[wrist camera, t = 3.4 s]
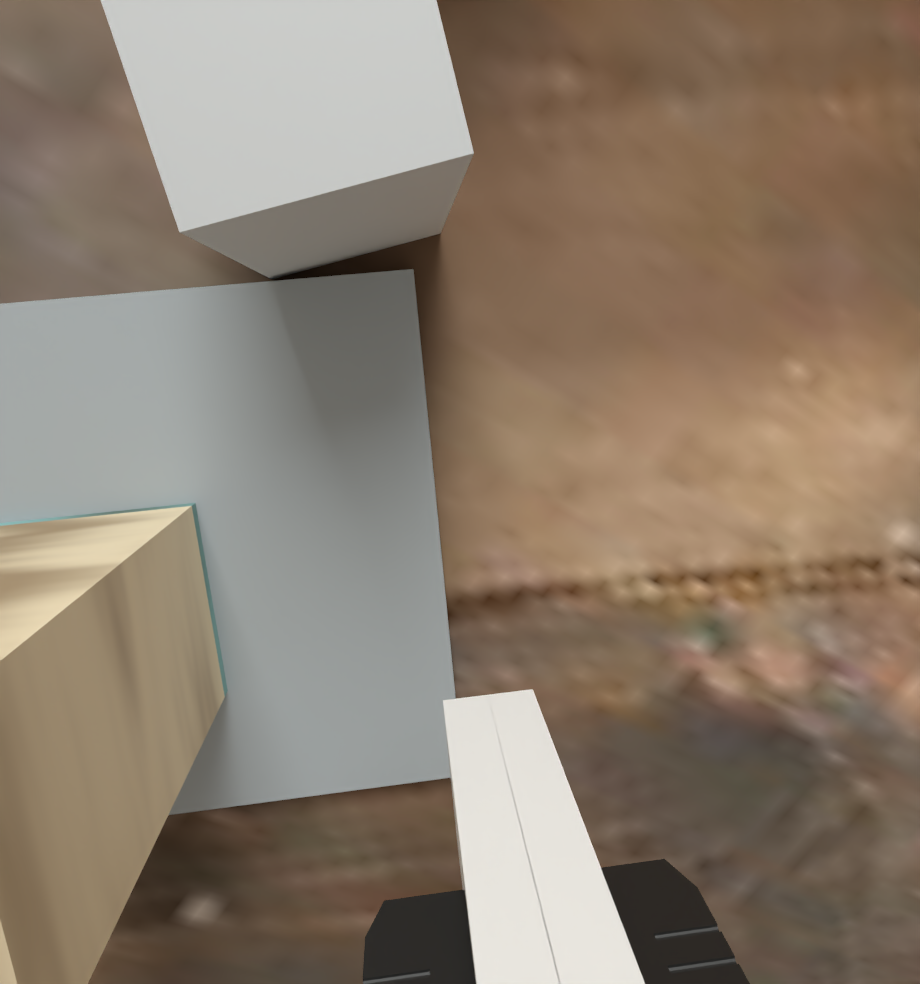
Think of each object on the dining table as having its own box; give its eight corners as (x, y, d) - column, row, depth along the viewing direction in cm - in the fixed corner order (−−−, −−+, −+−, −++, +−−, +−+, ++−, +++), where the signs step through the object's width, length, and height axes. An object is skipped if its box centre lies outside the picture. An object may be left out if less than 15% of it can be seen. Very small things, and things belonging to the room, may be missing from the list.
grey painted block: (271, 279, 21) (179, 232, 12) (213, 93, 19) (62, -112, 11) (440, 233, 21) (473, 153, 12) (391, 46, 20) (388, -196, 11)
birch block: (27, 715, 22) (-397, 1146, 10) (-18, 524, 21) (-564, 767, 9) (227, 690, 22) (42, 1078, 11) (195, 502, 21) (-57, 706, 9)
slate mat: (-298, 865, 23) (-317, 879, 22) (-486, 347, 19) (-514, 347, 19) (461, 765, 24) (463, 776, 24) (412, 271, 21) (413, 269, 20)
